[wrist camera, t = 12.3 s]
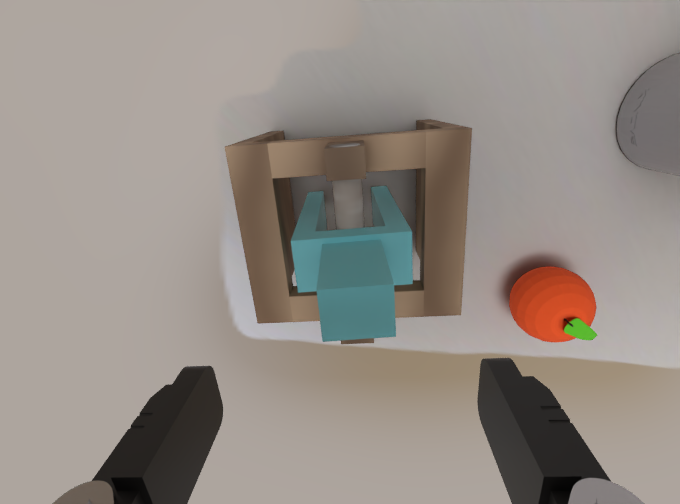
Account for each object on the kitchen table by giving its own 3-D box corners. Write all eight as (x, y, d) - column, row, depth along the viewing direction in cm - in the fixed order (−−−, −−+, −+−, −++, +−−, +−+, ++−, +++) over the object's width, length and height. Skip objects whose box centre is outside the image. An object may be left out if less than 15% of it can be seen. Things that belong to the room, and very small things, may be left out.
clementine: (592, 281, 36) (644, 320, 30) (543, 330, 39) (582, 377, 32) (530, 242, 35) (570, 274, 28) (484, 295, 37) (511, 337, 31)
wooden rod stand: (430, 119, 31) (490, 132, 17) (428, 249, 36) (474, 341, 22) (270, 131, 32) (204, 153, 18) (287, 256, 37) (245, 350, 23)
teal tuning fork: (386, 185, 29) (436, 273, 14) (387, 221, 30) (435, 339, 15) (308, 192, 29) (274, 286, 14) (312, 227, 30) (285, 350, 15)
